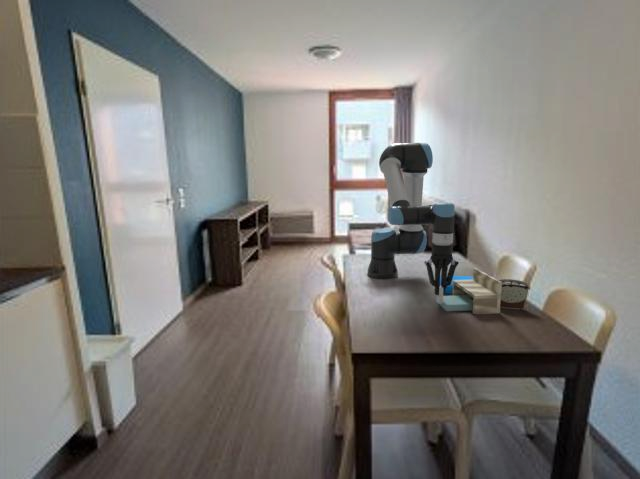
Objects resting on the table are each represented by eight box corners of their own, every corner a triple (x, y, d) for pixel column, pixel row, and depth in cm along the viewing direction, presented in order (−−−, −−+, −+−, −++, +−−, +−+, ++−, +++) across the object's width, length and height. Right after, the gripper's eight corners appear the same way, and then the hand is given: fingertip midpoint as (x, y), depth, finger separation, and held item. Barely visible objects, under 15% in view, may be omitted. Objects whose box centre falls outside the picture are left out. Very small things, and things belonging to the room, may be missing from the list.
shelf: (452, 296, 161) (453, 269, 158) (474, 295, 161) (476, 268, 159) (474, 314, 141) (476, 283, 139) (499, 313, 142) (502, 282, 140)
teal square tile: (436, 303, 155) (436, 296, 154) (465, 302, 156) (465, 295, 155) (446, 312, 145) (446, 304, 145) (477, 311, 146) (477, 303, 145)
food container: (525, 304, 150) (527, 280, 148) (528, 310, 145) (530, 284, 143) (491, 301, 154) (493, 277, 152) (492, 306, 149) (494, 282, 147)
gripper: (429, 246, 141) (426, 306, 146) (463, 245, 142) (459, 305, 147) (422, 242, 149) (420, 300, 153) (454, 241, 150) (451, 298, 154)
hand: (439, 302), depth 150 cm, fingers closed
